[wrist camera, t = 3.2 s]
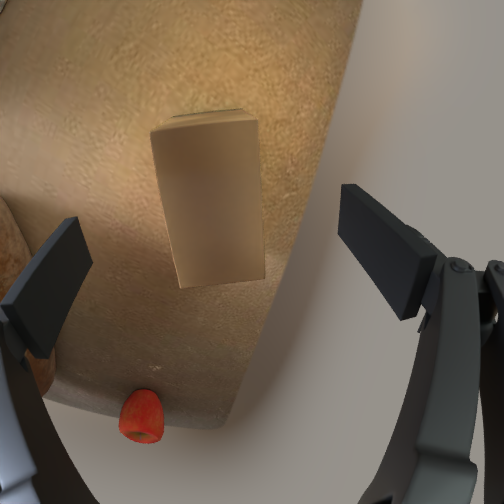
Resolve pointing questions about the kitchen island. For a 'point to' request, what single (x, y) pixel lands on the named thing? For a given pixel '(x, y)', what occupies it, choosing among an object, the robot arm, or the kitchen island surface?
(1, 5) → the white milk churn
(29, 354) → the bread
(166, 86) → the kitchen island surface
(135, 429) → the apple
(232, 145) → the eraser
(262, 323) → the kitchen island surface
